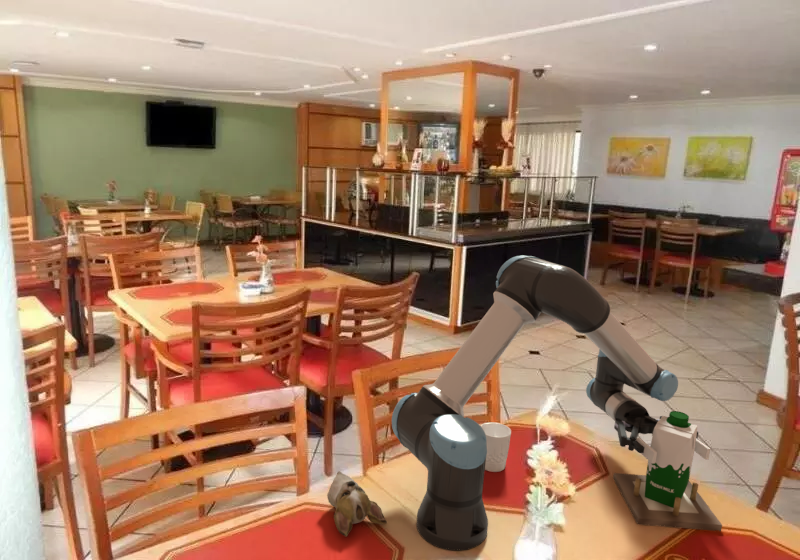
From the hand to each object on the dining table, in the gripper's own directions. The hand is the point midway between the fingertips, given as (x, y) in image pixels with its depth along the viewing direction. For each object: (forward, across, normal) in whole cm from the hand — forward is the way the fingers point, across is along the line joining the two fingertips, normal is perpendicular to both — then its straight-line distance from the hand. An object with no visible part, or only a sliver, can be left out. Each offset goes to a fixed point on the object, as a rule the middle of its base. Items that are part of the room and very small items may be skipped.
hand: (681, 456), depth 128 cm
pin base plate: (-3, 0, -14) cm, 14 cm away
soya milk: (-3, 0, -12) cm, 13 cm away
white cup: (-24, +35, -14) cm, 45 cm away
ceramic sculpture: (-8, +73, -14) cm, 75 cm away
